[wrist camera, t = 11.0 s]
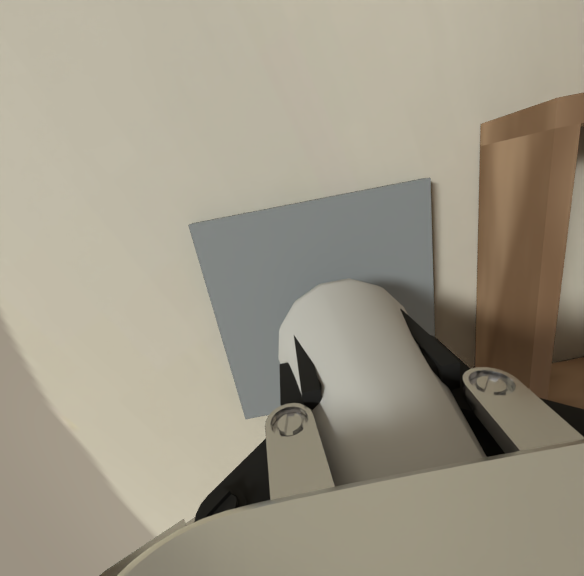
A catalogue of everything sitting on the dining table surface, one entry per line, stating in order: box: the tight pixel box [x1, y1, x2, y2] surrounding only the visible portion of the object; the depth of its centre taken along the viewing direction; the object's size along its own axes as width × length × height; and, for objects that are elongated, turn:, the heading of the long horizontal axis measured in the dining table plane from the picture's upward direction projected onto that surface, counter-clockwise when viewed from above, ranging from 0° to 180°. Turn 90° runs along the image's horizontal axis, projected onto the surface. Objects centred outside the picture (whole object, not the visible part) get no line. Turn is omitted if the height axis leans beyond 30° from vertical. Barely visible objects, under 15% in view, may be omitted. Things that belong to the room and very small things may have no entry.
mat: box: [188, 178, 435, 419], centre depth 16 cm, size 12×12×1 cm
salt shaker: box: [278, 278, 487, 486], centre depth 8 cm, size 6×6×13 cm
